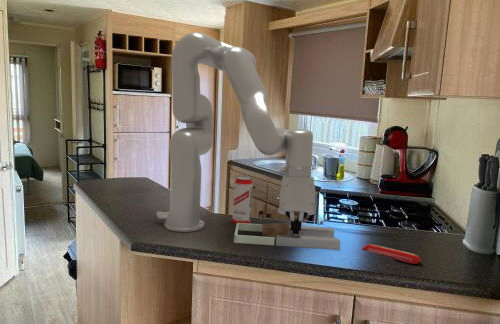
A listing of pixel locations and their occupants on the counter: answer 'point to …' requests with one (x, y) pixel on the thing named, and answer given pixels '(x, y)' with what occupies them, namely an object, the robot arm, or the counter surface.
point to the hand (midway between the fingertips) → (295, 232)
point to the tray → (251, 238)
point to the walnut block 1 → (269, 230)
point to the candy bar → (393, 253)
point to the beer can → (242, 200)
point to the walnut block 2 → (283, 228)
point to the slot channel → (310, 238)
